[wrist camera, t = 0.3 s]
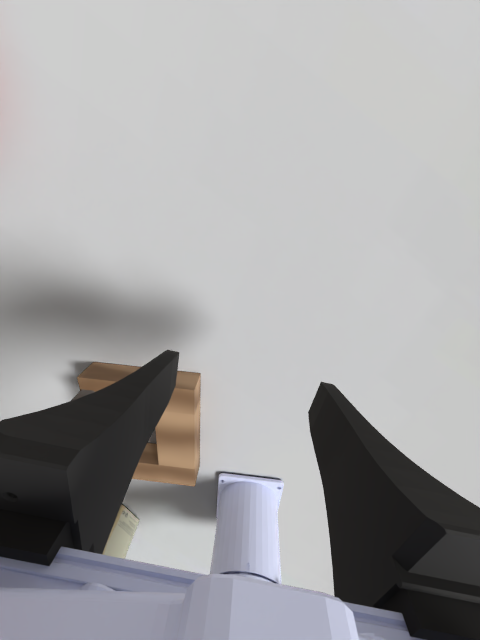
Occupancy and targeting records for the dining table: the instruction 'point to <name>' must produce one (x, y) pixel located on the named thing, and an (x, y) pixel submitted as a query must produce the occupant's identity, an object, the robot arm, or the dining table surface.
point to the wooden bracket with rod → (161, 425)
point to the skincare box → (121, 534)
